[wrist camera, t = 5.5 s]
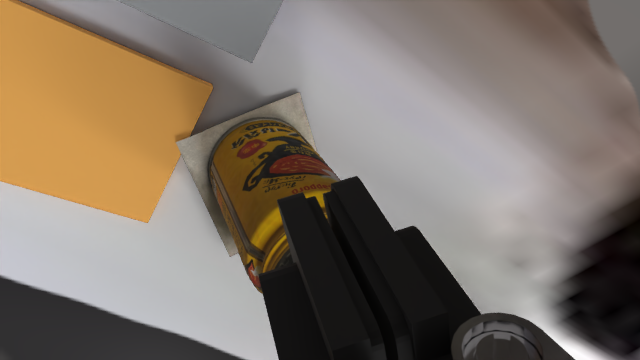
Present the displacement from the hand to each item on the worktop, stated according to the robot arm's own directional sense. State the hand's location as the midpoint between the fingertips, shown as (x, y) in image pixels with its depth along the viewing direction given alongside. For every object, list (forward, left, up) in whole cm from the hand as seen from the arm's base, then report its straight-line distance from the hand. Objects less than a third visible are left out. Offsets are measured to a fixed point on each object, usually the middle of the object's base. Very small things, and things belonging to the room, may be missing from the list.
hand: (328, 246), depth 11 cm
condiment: (-6, +7, -19) cm, 21 cm away
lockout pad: (+5, +8, -19) cm, 21 cm away
